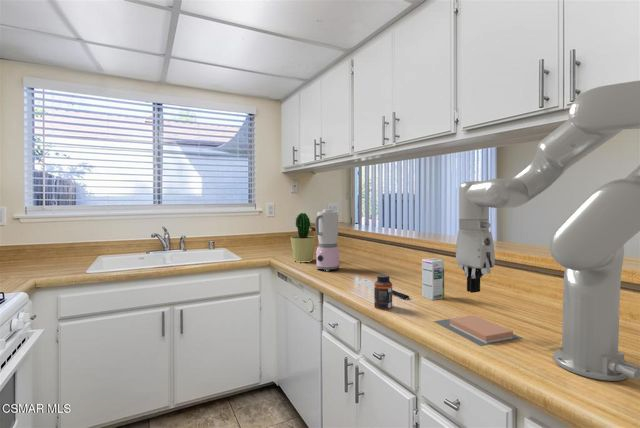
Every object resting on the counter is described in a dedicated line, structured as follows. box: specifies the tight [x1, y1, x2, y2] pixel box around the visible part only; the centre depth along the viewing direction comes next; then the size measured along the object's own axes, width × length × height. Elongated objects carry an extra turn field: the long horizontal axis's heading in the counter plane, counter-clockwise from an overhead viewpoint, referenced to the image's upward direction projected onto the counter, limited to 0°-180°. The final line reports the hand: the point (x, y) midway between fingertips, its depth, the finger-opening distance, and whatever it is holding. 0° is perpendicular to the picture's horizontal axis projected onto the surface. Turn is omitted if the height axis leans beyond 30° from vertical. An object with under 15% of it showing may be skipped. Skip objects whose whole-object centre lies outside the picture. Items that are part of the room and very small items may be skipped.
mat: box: [433, 318, 523, 347], centre depth 93 cm, size 18×14×1 cm
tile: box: [449, 314, 514, 343], centre depth 91 cm, size 2×9×13 cm
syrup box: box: [421, 257, 445, 301], centre depth 125 cm, size 6×6×14 cm
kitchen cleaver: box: [354, 279, 410, 301], centre depth 136 cm, size 31×2×10 cm
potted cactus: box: [290, 212, 317, 261], centre depth 203 cm, size 15×15×30 cm
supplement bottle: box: [373, 273, 393, 311], centre depth 113 cm, size 6×6×11 cm
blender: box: [315, 209, 340, 272], centre depth 177 cm, size 16×12×32 cm
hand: (473, 291), depth 93 cm, fingers closed
